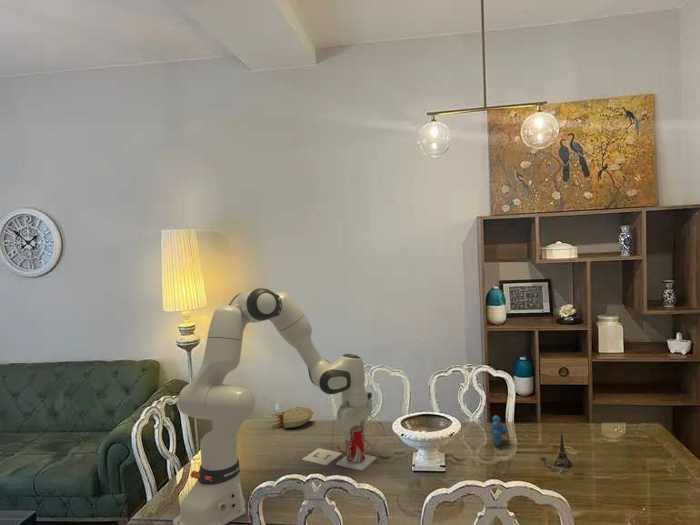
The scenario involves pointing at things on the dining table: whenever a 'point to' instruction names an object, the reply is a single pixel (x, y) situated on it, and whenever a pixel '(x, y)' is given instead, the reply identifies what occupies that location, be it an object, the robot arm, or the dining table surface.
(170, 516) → the dining table surface
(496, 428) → the blue figurine
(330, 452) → the card
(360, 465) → the coaster
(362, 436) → the soda can
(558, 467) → the eiffel tower figurine
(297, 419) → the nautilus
